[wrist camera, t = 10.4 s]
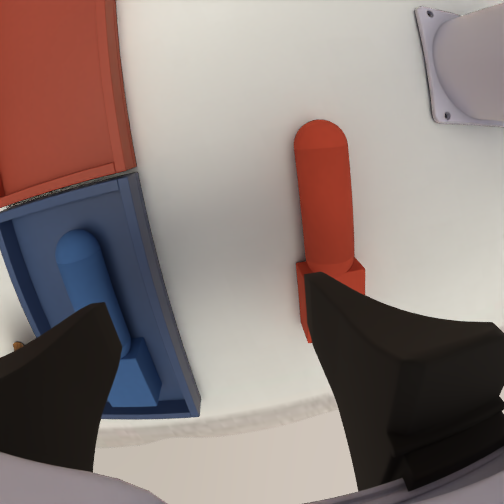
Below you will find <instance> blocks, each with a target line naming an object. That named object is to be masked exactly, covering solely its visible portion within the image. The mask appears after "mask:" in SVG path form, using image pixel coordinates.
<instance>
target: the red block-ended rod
mask: <svg viewBox="0 0 504 504" xmlns="http://www.w3.org/2000/svg"><path fill="white" fill-rule="evenodd" d="M294 153H295V161H296V169H297V178H298V187H299V196H300V205H301V215H302V225H303V236H304V247H305V257H306V261H305V262H298V263H296V271H297V282H298V293H299V305H300V317H301V324H302V327H303V330H304V333H305V335H306V338H307V341H308V343H312V340H311V336H310V332H309V329H308V325H307V312H306V298H305V284H304V274H309V273H315V272H323V273H325V274H327V275H329V276H331V277H333V278H334V279H336V280H338V281H339V282H341V283H343V284H345V285H346V286H348V287H350V288H352V289H354V290H356V291H357V292H359V293H361V294H363V295H365V268H364V267H363V266H362V265H361V264H360V263H359V262H358V261H357V259H356V258H355V257H354V226H353V206H352V189H351V176H350V164H349V153H348V144H347V139H346V137H345V134H344V133H343V131H342V130H341V129H340V128H339V127H338V126H337V125H335V124H334V123H332V122H330V121H326V120H313V121H310V122H308V123H306V124H305V125H303V126H302V127H301V128H300V129H299V131H298V132H297V134H296V136H295V140H294Z"/></svg>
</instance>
